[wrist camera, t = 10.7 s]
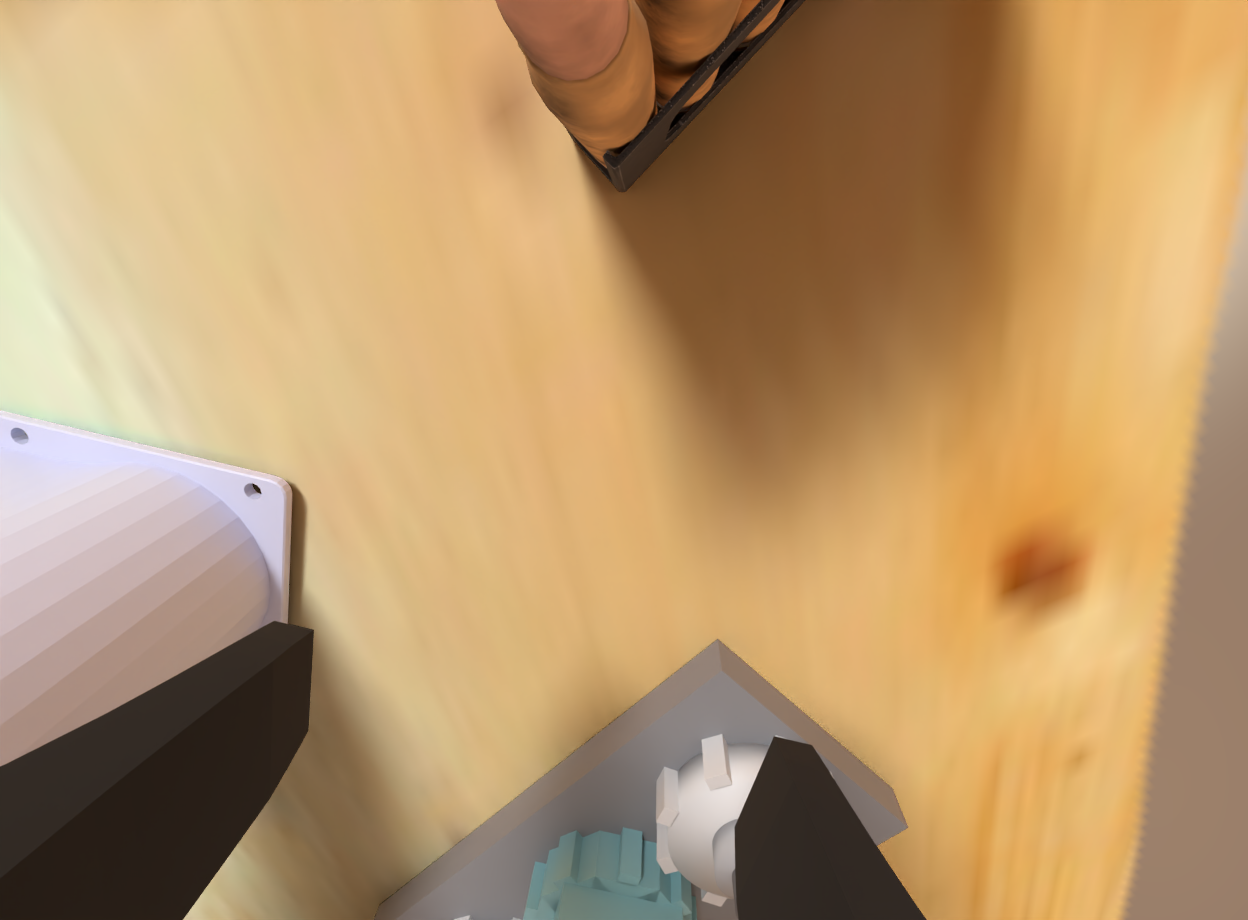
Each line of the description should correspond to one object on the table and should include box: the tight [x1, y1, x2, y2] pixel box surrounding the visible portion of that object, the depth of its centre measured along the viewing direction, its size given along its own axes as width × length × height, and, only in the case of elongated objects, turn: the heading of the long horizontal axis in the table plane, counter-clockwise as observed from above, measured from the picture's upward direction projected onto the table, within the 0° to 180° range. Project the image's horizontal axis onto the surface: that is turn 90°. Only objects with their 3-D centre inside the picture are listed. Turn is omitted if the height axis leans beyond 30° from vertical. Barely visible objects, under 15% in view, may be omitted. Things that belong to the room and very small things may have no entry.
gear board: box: [374, 639, 908, 920], centre depth 21 cm, size 20×9×5 cm, turn 137°
